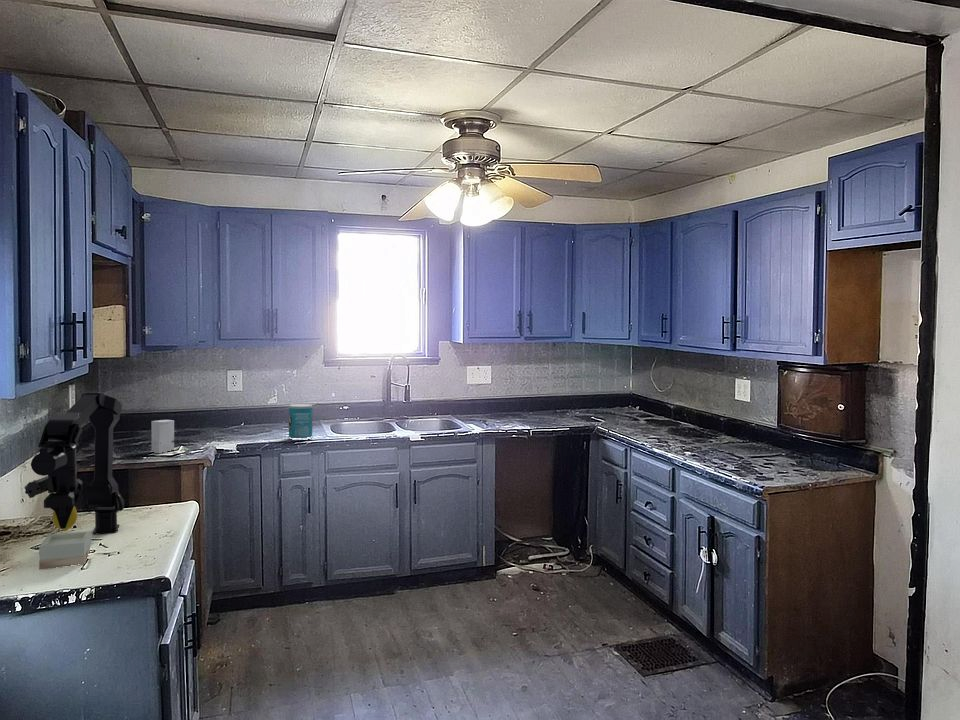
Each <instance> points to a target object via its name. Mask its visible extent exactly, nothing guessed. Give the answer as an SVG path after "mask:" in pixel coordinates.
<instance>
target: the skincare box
mask: <svg viewBox="0 0 960 720" xmlns="http://www.w3.org/2000/svg"><path fill="white" fill-rule="evenodd" d="M150 448H151V450H150V451H151V453H152V452H154V454H157V453H161V454H163V453H162V452H167V451H171V450H174V451H175V420H174V419H173V420H172V419H160V420H151V447H150ZM167 453H168V452H167Z"/></svg>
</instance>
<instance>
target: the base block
mask: <svg viewBox="0 0 960 720" xmlns="http://www.w3.org/2000/svg"><path fill="white" fill-rule="evenodd" d="M90 547H91V546H90ZM90 547H89V549H88V550H87V552H86V554H85V556H78V557H67V558H56V559H45V560H38V563H39V564H38V566H39V567H38V568H39V570H47V569H48V570H49V569H57V568H56V567H58V568H64V567H63V566H68V567H72V566H71V565H77V566H79V565H78V564H85V565H86V562H87V560H88V558H89V555H90V553H91V548H90ZM89 552H90V553H89ZM88 554H89V555H88ZM87 557H88V558H87ZM86 559H87V560H86ZM85 561H86V562H85Z"/></svg>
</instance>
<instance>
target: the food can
mask: <svg viewBox="0 0 960 720" xmlns="http://www.w3.org/2000/svg"><path fill="white" fill-rule="evenodd" d="M311 436H312V437H313V404H312V403H292V404H289V405H288V438H289V437H291V438H307V437H311Z"/></svg>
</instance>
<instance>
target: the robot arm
mask: <svg viewBox="0 0 960 720" xmlns="http://www.w3.org/2000/svg"><path fill="white" fill-rule="evenodd" d="M122 407H123V405H122V403H121V402H120V401H119V400H118V399H117V398H115V397H112V396H109V395H106V394H105V393H104V392H101V391H85V392H83V393H81V396H80V398H79V399H78V400H77V401H76V402H75V403H74V404H73V405H72V406H71V407H70V408H69V409H68V410H67V411H66V412H64V413H61V414H59V415H55V416H54V417H51V418H50V419H49V420H47V422H46V423H45V426H44V428H43V430H42V434H41V437H40V440H39V443H38V449H39V450H38V452H39V453H37V454H35V456H33V458H32V460H31V462H30V468H31V469H32V471H33V473H35V474H36V475H38V476H43V477H41V478H39V479H34V480H33V481H28V483H27V484H26V485H24V489H25V491H24V493H25V494H26V495H27V496H28V498H29V499H31V498H34V497H36V496H38V495H40V494H42V493H46V492H47V493H48V495H47V496H46V497H45V498H44V500H43V508H44V509H51V510H53V511H55V514H56V516H57V519H58V522H59V525H60V528H61V529H60V530H62V529H63V528H66V525H67V523H68V520H69V518H70V515H71V512H72V510H73V507H74V506H75V507H76V506H77V503H78V501H79V498H80V497H81V494H82V493H81V491H83V489H84V482H83V480H81V479H80V478H78V477H77V475H78V472H79V467H77V447H78V446H79V442H78V441H79V438H80V437H81V434H82V432H83V429H82V427H83V426H82V425H83V424H84V423H85V422H86V421H87V420H89V422H90V424H91V425H92V427H93V428H94V458H93V459H94V463H93V465H94V467H93V470H94V471H93V479H92V481H91V482H90V484H88V485H86V494H85V497H84V498H85V505H86V509H87V513H94V524H95V525H94V528H93V531H92V535H97V534H96V533H100V534H104V533H103V532H111V533H114V532H113V531H117V532H118V531H119V529H120V524H118V512H120V511H123V510H124V508H125V499H124V498H123V496H122V494H121V493H120V491H119V484H118V483H117V480H115V478H114V476H113V470H114V469H113V464H114V463H113V460H114V459H113V458H114V428H115V427H116V425H117V424H118V422H119V421H120V419H121V413H122ZM77 490H78V491H77ZM75 491H77V492H75ZM118 528H119V529H118Z"/></svg>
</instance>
